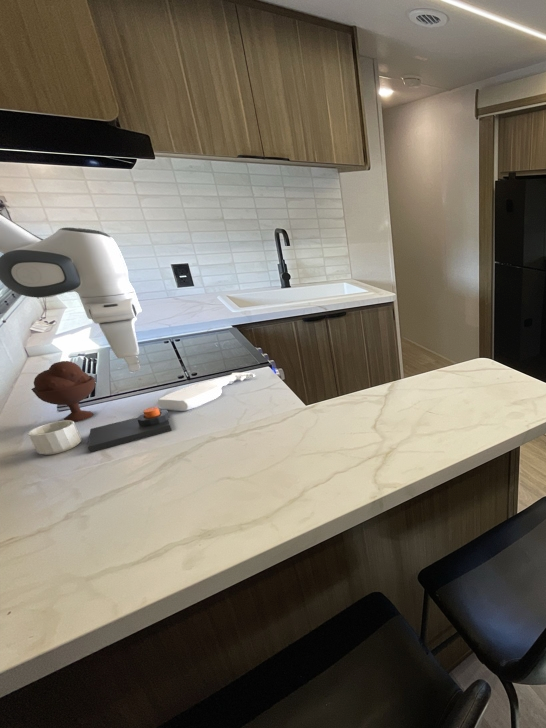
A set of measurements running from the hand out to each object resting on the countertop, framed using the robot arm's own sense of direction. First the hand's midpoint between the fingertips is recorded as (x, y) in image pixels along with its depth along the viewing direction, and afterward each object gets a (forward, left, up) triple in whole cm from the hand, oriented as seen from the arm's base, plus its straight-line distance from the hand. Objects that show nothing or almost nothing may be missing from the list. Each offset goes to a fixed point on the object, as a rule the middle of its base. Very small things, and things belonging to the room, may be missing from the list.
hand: (135, 367), depth 92 cm
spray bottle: (+13, +15, -15) cm, 25 cm away
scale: (-5, 0, -15) cm, 16 cm away
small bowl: (-17, +2, -15) cm, 22 cm away
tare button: (0, 0, -13) cm, 13 cm away
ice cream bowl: (-15, +20, -15) cm, 29 cm away
